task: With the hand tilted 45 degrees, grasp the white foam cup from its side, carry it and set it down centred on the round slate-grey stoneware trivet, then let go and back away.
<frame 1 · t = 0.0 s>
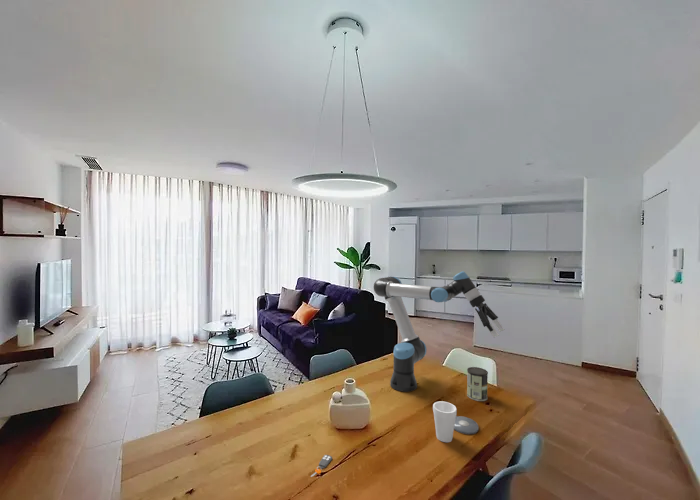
hand: (499, 333, 158), 36 cm above the table, tool tilted 35°, fingers open, 13 cm apart
key chain: (320, 470, 110), on the table
trivet: (463, 426, 137), on the table
foam cup: (444, 438, 129), on the table
coffee can: (477, 396, 165), on the table
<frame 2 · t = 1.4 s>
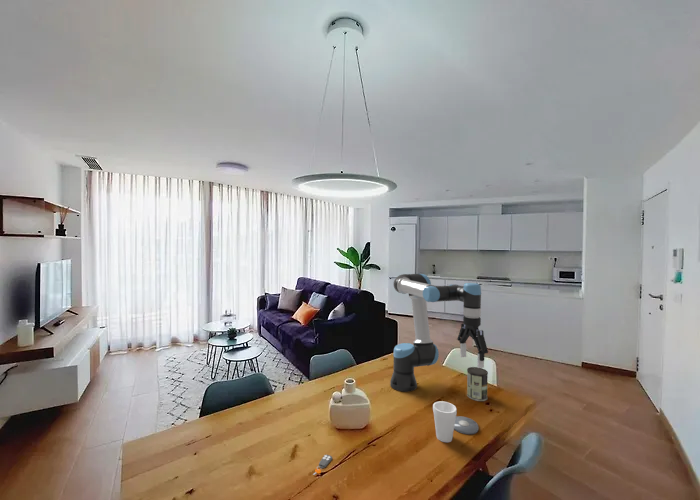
hand: (471, 362, 142), 27 cm above the table, tool pointing down, fingers open, 13 cm apart
nothing on the table moved.
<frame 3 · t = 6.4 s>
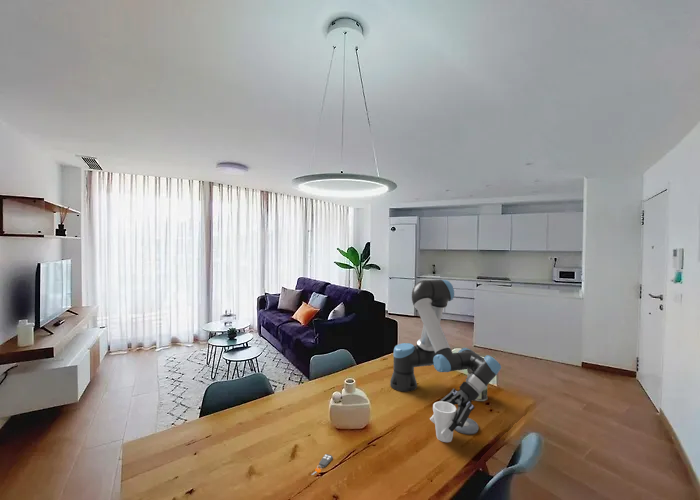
hand: (437, 428, 128), 4 cm above the table, tool tilted 45°, fingers closed on foam cup, 9 cm apart
foam cup: (444, 438, 129), on the table, touching gripper
everything else where it was.
when the fingers open (7 cm above the table, at t = 12.1 s): foam cup drops 1 cm, resting on trivet.
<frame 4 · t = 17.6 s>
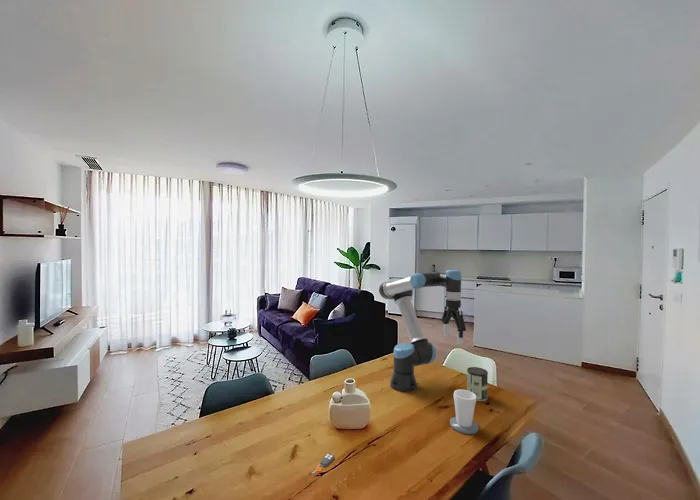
hand: (452, 339, 161), 32 cm above the table, tool pointing down, fingers open, 13 cm apart
foam cup: (464, 423, 137), point 1 cm above the table, touching trivet
everything else where it was.
at the end: foam cup 0.1 cm from the trivet (horizontally); foam cup tilted 1°; the gripper is holding nothing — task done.
